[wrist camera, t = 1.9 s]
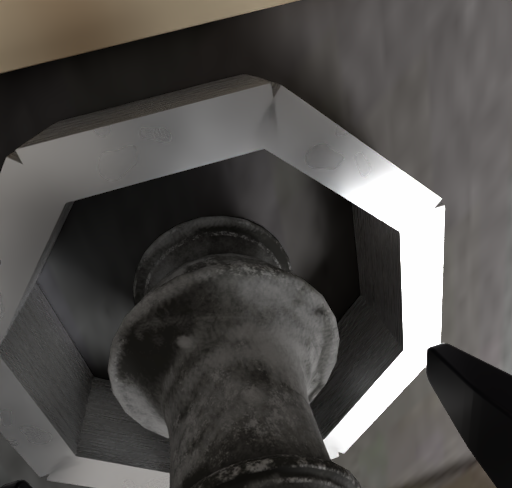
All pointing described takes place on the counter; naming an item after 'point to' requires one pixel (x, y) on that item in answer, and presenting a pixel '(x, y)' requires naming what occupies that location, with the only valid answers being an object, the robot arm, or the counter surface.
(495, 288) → the counter surface
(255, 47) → the counter surface
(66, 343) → the white octagonal ring
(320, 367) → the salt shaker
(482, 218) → the counter surface
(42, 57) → the beige pad
